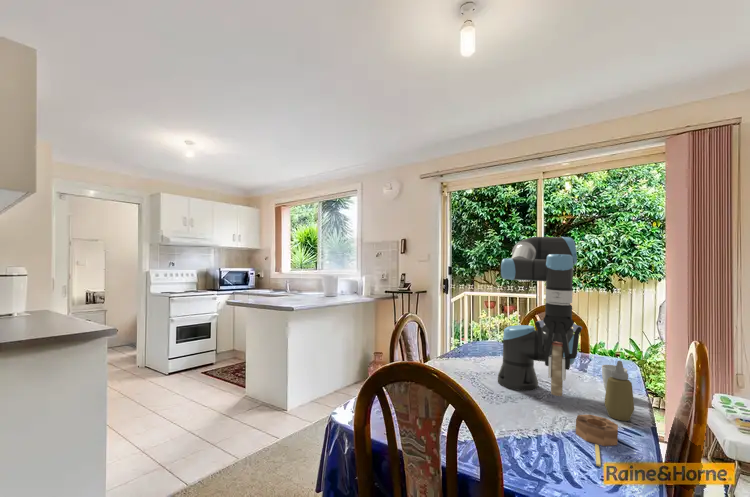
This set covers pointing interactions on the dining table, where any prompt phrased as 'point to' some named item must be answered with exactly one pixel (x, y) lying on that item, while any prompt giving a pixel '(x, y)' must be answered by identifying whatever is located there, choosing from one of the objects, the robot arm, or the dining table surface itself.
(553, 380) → the needle dowel
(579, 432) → the walnut bead
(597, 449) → the pale yellow wooden rod
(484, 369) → the dining table surface
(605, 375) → the cup
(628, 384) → the squeeze bottle
